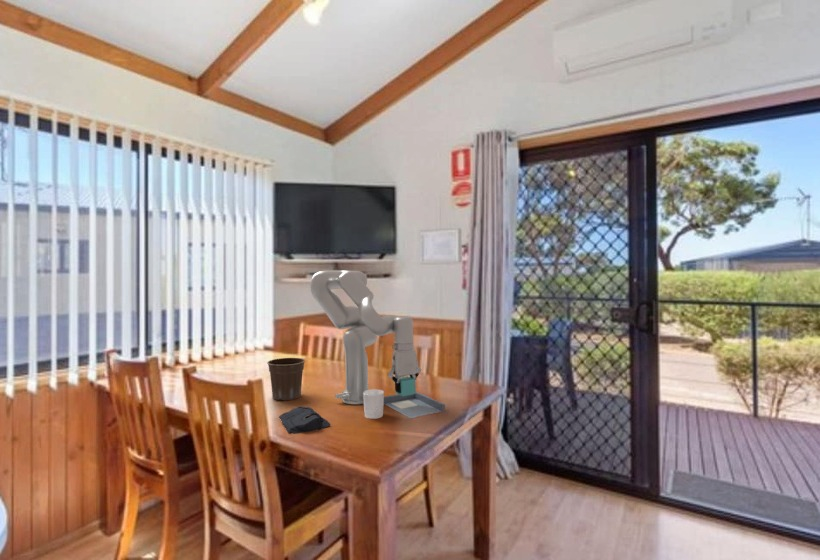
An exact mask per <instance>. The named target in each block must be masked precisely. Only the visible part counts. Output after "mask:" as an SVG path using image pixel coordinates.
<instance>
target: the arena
mask: <svg viewBox="0 0 820 560" xmlns="http://www.w3.org/2000/svg"><path fill="white" fill-rule="evenodd" d="M384 405H385V406H387V407H388V408H390V409H392V410H394V411H396V412H398V413H399V414H400V415H404V416H405V417H406V418H408V419H413V418H418V417H423V416H427V415H431V414H433V415H434V414H436V413H441V412H442V413H443V412H445V411H446V403H443V402H440V401H438V400H436V399H433V398H432V397H429V396H427V395H425V394H422V393H420V392H418V391H416V394H412V395H407V396H401V395H399V394H397V393H395V394H391V395H387V396H385V395H384Z"/></svg>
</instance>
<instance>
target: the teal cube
mask: <svg viewBox="0 0 820 560" xmlns="http://www.w3.org/2000/svg"><path fill="white" fill-rule="evenodd" d="M399 383H400V384H401V393H398V392H396V390H395V389H394V391H395V394H399V395H401V396H407V395H412V394H416V392H417V391H416V380H415V379H414V378H411V377H410V376H409V375H408V376H401V378H400V382H399Z"/></svg>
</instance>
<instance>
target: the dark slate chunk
mask: <svg viewBox="0 0 820 560" xmlns="http://www.w3.org/2000/svg"><path fill="white" fill-rule="evenodd" d="M279 418H280V419H281V420H280V419H279ZM278 419H279V420H280V422H281V421H282V422H281V425H282V426H283V425H284V426H285V428H286V429H285V428H284V429H285V430H286V432H287V433H288V434H292V435H296V434H300V433H309V432H314V431H319V430H323V429H325V428H329V427H330V426H331V423H330V421H328V419H327V420H326V419H325V418H324V417H322V416H321V415H320V414H319V413H318V412H317V411H316V410H314V408H313V407H310V406H297V407H294V408H292V409H290V410H289V411H286V412H284V413H282V414H280V415H279V416H278ZM284 426H283V427H284Z"/></svg>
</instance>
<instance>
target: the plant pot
mask: <svg viewBox="0 0 820 560" xmlns="http://www.w3.org/2000/svg"><path fill="white" fill-rule="evenodd" d="M266 363H267V365H268V372H269V374H270V375H269V376H270V384H271V394H272V398H273V400H276V401H281V400H282V401H292V400H295V399H299V398H300V397H301V395H302V383H303V370H304V367H305V363H306V358H305V359H304V358H300V357H281V358H274V359H270V360H268V361H267V362H266Z"/></svg>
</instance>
